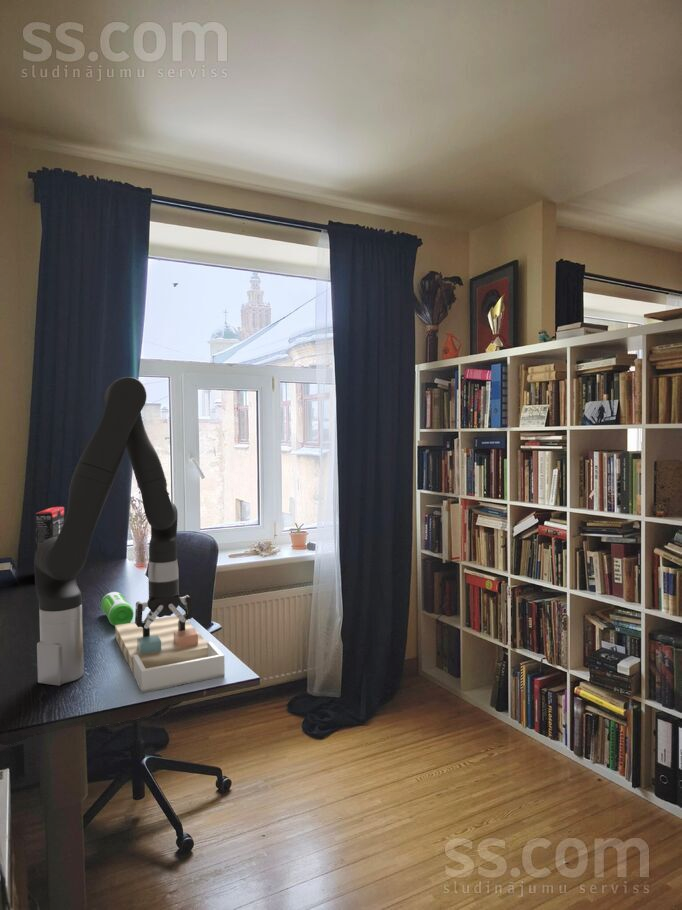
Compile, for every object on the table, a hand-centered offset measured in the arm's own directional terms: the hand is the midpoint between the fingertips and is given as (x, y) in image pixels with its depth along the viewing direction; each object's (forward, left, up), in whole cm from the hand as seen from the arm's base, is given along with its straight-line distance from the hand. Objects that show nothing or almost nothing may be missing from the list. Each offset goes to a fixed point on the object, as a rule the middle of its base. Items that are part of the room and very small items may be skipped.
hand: (164, 638), depth 156 cm
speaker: (+21, +30, -5) cm, 37 cm away
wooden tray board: (+4, +4, -4) cm, 7 cm away
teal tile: (-6, +1, -1) cm, 6 cm away
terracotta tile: (+1, -6, -1) cm, 6 cm away
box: (-10, -11, -4) cm, 15 cm away
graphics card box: (+61, +92, -5) cm, 110 cm away
